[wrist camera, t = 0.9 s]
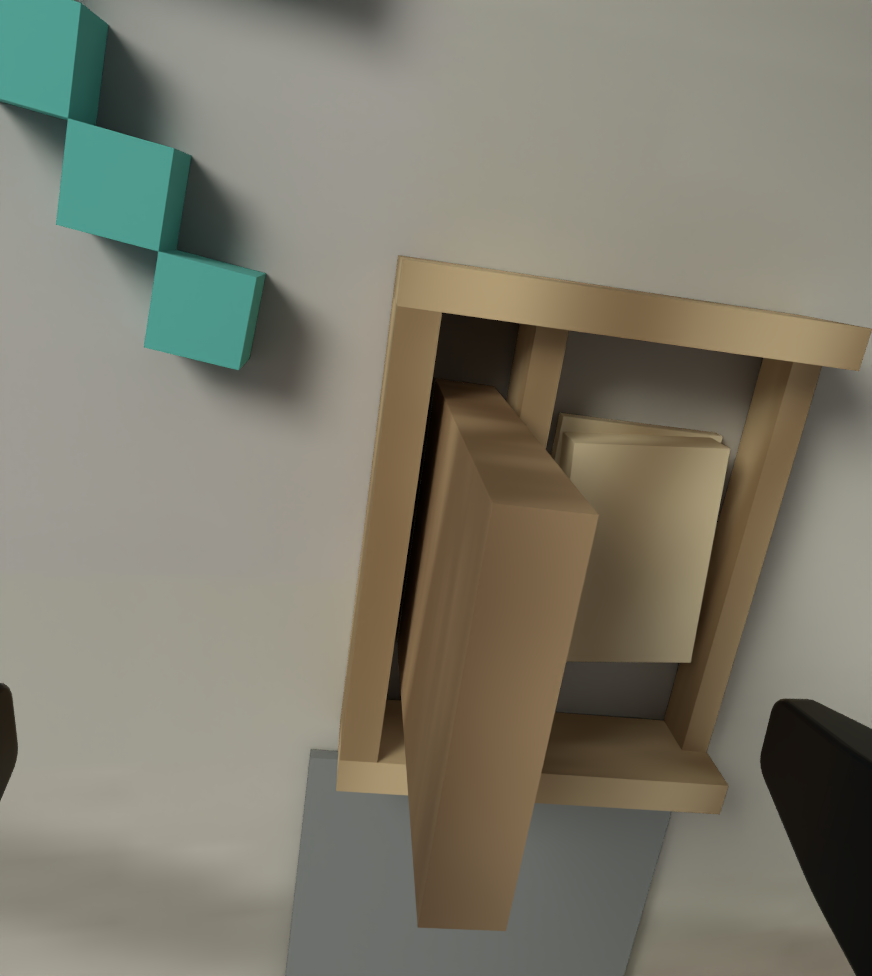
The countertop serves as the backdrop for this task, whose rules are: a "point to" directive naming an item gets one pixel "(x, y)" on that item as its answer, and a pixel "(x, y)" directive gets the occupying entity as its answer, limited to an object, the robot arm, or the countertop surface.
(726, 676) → the rack
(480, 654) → the wooden block
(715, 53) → the countertop surface
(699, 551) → the offcut upper
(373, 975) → the mat
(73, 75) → the alien figure
